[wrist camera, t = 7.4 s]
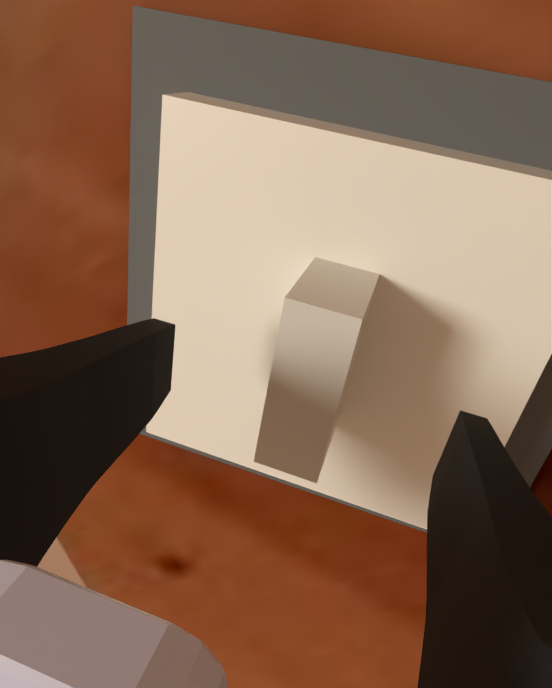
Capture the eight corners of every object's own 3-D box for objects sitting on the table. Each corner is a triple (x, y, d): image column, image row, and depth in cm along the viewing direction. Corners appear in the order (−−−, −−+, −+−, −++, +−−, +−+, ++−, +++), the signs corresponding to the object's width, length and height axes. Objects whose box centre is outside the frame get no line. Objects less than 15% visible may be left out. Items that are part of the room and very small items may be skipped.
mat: (491, 546, 20) (492, 555, 19) (130, 423, 22) (125, 428, 22) (729, 114, 12) (737, 116, 12) (140, 7, 15) (132, 5, 14)
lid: (457, 505, 19) (457, 621, 15) (166, 408, 21) (98, 487, 17) (612, 183, 13) (679, 233, 9) (189, 92, 15) (94, 99, 11)
